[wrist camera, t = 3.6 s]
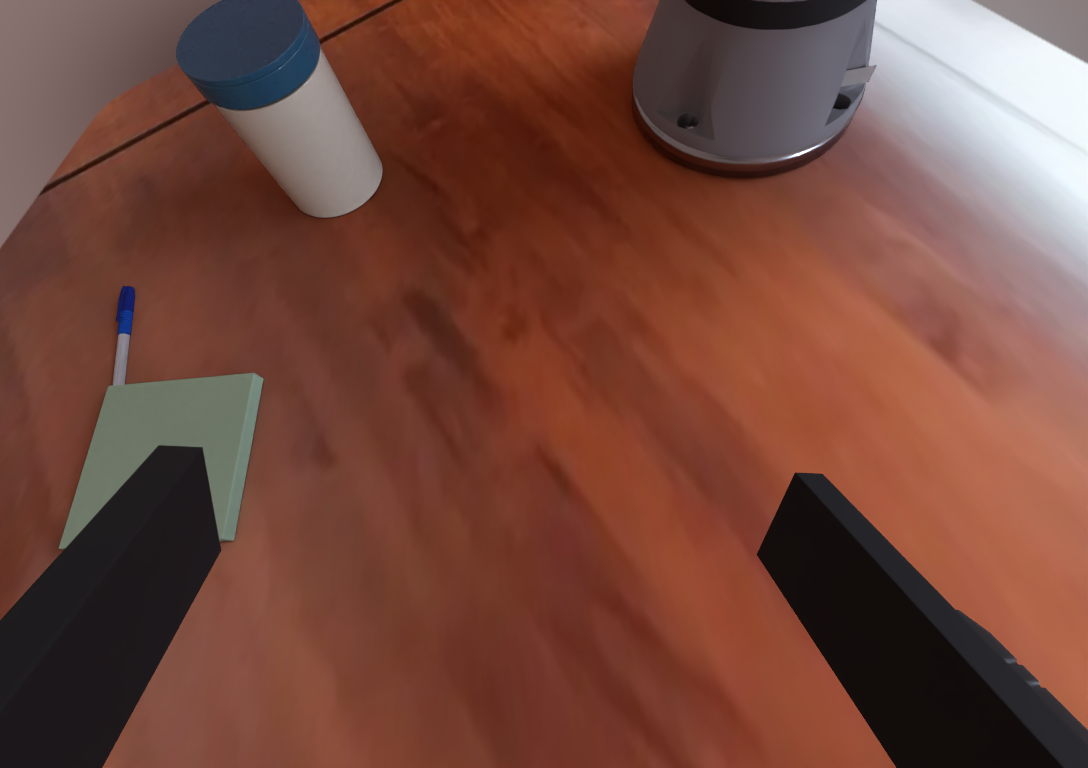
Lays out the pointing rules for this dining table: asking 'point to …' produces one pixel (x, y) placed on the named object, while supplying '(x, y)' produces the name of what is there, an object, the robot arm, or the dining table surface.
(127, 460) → the sticky note pad
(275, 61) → the jar lid
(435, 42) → the dining table surface
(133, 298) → the marker pen
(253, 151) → the jam jar
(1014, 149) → the dining table surface
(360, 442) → the dining table surface
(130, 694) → the robot arm
